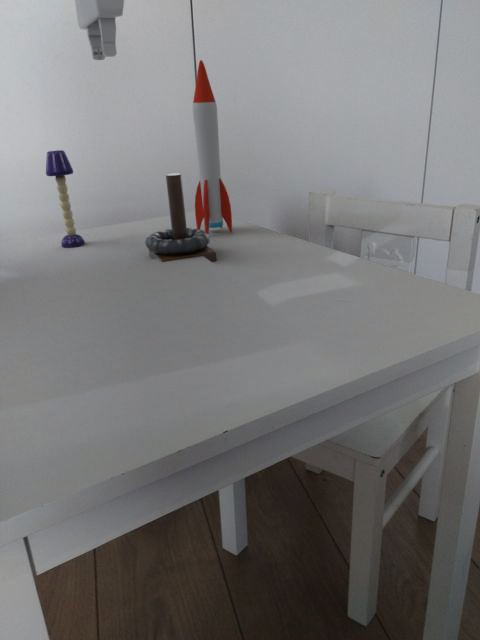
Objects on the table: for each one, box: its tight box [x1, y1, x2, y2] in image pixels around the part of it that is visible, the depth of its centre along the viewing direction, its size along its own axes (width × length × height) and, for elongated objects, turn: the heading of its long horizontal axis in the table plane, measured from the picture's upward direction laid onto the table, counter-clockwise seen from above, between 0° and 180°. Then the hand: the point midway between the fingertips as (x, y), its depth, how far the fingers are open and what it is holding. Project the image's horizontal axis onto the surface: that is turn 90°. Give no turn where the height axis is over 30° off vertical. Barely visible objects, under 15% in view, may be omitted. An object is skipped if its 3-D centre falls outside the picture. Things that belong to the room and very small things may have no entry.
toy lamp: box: [45, 149, 86, 248], centre depth 104 cm, size 5×5×17 cm
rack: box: [148, 172, 218, 263], centre depth 92 cm, size 9×9×14 cm
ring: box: [144, 227, 211, 255], centre depth 95 cm, size 10×10×2 cm
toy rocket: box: [192, 59, 233, 236], centre depth 105 cm, size 6×6×30 cm
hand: (104, 58), depth 87 cm, fingers open, 8 cm apart
